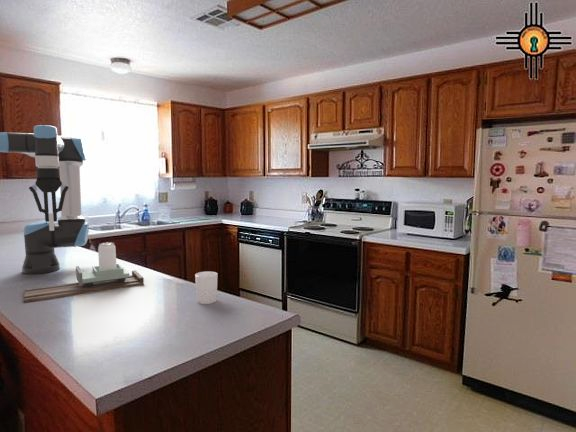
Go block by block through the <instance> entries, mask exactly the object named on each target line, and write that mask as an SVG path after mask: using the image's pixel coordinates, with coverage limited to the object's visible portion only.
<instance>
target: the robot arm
mask: <svg viewBox="0 0 576 432" xmlns="http://www.w3.org/2000/svg"><path fill="white" fill-rule="evenodd" d="M85 148H86V147H85V144H84V140H83V138H82V137H80V136H75V135H59V133H58V128H57V126H53V125H46V124H43V125H42V124H39V125H38V124H36V125H34V126H33V133H32V132H31V133H29V132H27V133H26V132H8V131H7V132H6V131H3V132H0V153H7V154H8V153H15V154H23V155H27V156H29V157H31V158H34V160H35V167H37V168H36V169H35V175H36V181H35V184H32V185H31V186H29V188H28V189H29V191H30V192H31V193H32V196H33V198H34V201H35V203H36V206H37V209H38V211H39V212H40V213H43V214H44V219H45V220H44V221H36V222H32V223H28V224H26V225H24V227H23V236H24V237H23V239H24V251H25V257H24V259H23V264H22V267H21V270H22V271H21V272H22V274H25V275H28V274H29V275H37V274H46V273H51V272H55V271H58V270H60V268H61V267H60V262H59V260H58V258H57V255H56V254H55V248H58V249H59V248H77V247H83V246H85V245H87V242H88V238H89V226H90V224H89V222H87V221H86V219H85V217H84V216H82V200H81V198H82V197H81V196H82V195H81V171H80V168H81V167H82V166H83V165H84V161H86V160H87V154H86V149H85ZM37 187H38V188H37ZM38 189H39V190H40V191H41V192H42V193H43V205H44V206H42V204H41V201H40V198H39V196H38V195H39V194H38V192H37V190H38ZM59 189H60V191H59V192H60V198H59V203H58V207H57V199H56V198H57V197H56V195H57V194H56V193H57V191H58V190H59ZM48 193H51V203H52V204H51V209H52V212H49V199H48V198H49V196H48ZM43 207H44V208H43ZM59 212H60V215H61V216H60V217H58V213H59ZM54 222H57V223H54Z"/></svg>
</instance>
